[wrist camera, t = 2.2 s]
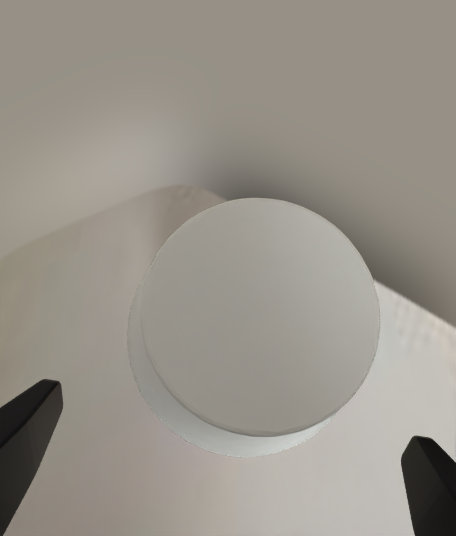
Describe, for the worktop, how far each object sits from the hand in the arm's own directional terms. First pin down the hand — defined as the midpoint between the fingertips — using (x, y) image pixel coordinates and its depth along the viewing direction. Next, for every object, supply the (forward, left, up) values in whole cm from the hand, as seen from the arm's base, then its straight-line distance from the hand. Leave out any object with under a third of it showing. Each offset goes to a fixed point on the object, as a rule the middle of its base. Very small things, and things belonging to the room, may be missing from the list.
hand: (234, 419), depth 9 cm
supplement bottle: (+2, +1, -10) cm, 10 cm away
